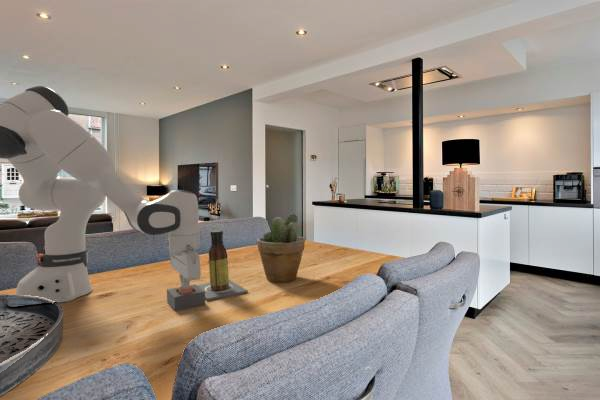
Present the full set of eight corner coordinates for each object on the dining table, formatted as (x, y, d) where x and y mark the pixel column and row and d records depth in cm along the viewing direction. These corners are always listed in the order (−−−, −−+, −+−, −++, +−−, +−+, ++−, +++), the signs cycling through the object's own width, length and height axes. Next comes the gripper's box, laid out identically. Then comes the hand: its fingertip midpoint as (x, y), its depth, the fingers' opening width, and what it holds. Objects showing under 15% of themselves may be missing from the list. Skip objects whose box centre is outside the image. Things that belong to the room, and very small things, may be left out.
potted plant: (299, 287, 120) (299, 217, 119) (250, 284, 124) (249, 216, 123) (308, 273, 138) (308, 212, 137) (265, 271, 142) (264, 212, 141)
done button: (180, 301, 101) (180, 290, 101) (177, 297, 105) (176, 287, 105) (194, 298, 104) (194, 288, 104) (190, 294, 107) (190, 284, 107)
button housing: (174, 310, 98) (174, 297, 98) (167, 301, 106) (166, 289, 105) (205, 304, 103) (205, 291, 103) (195, 296, 111) (195, 284, 110)
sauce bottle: (231, 285, 119) (230, 229, 118) (225, 291, 113) (224, 232, 111) (213, 285, 120) (212, 229, 118) (206, 291, 113) (205, 232, 112)
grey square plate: (207, 301, 106) (207, 298, 106) (191, 288, 119) (191, 285, 119) (247, 292, 114) (247, 290, 114) (229, 281, 127) (228, 279, 127)
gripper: (205, 247, 96) (206, 294, 97) (185, 237, 113) (186, 278, 114) (183, 249, 93) (184, 299, 93) (165, 239, 110) (166, 281, 110)
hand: (185, 287), depth 104 cm, fingers closed, pressing on done button
